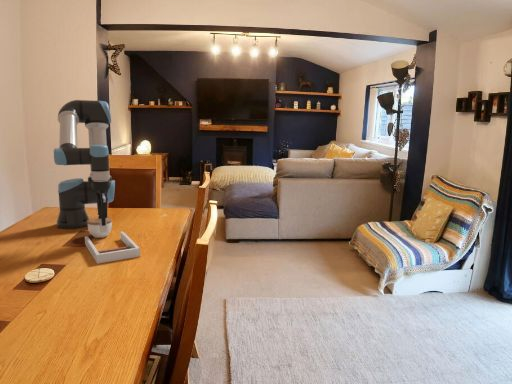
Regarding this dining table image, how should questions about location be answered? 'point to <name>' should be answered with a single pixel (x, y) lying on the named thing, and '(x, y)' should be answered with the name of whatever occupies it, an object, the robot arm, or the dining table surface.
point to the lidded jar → (98, 227)
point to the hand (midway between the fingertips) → (103, 231)
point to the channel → (115, 254)
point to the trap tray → (114, 249)
